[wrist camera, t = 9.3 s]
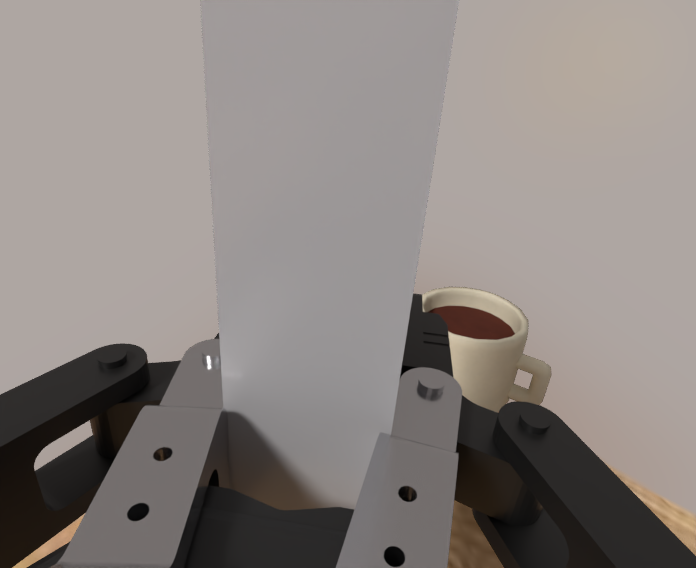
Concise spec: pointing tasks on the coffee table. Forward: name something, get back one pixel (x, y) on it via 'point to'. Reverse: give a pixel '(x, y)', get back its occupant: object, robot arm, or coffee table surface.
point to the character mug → (487, 346)
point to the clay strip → (317, 226)
